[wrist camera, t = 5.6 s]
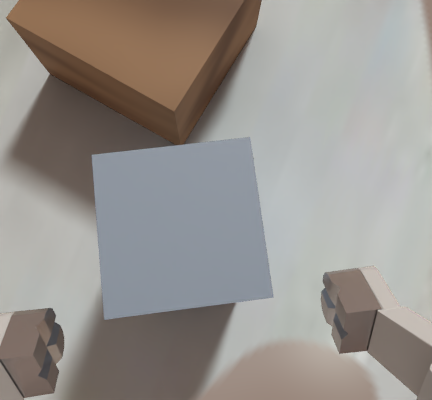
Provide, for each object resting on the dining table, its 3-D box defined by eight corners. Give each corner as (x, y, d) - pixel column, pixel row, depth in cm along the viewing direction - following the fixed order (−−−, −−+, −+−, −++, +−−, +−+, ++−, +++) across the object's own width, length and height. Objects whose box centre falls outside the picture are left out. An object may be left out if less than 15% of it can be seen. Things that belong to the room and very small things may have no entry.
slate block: (242, 285, 20) (273, 297, 11) (149, 297, 19) (104, 320, 11) (230, 195, 20) (250, 137, 12) (140, 205, 20) (91, 154, 11)
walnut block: (181, 149, 21) (174, 111, 16) (51, 75, 22) (5, 17, 17) (255, 27, 22) (270, -41, 17) (131, -39, 23) (111, -124, 18)
